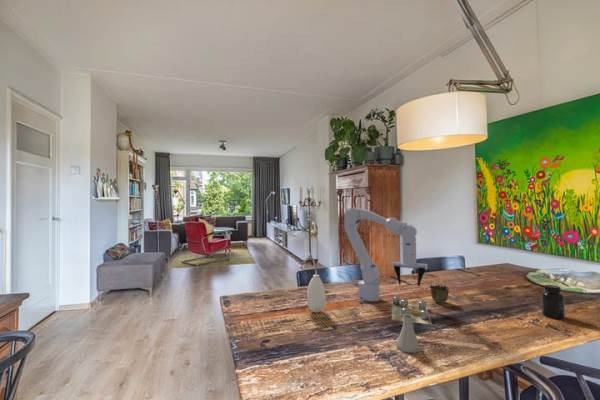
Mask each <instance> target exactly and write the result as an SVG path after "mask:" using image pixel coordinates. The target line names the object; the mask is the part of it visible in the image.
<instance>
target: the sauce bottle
mask: <svg viewBox="0 0 600 400" xmlns="http://www.w3.org/2000/svg"><path fill="white" fill-rule="evenodd" d="M317 272H318V271H317V269H315V274H313V275H312V278H311V280H310V281H309V283H308V286H307V291H306V301H307V305H308V309H310V310H311V312H313V313H316V314H318V313H320V312H321V311H322V310H323V309H324V308H325V305H326V297H327V296H326V289H325V286H324V282H323V281H322V278H320V275H319V274H317Z"/></svg>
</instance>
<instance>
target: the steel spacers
mask: <svg viewBox="0 0 600 400" xmlns="http://www.w3.org/2000/svg"><path fill="white" fill-rule="evenodd" d="M392 303H393V305H400V303H401V317H403V315H404V314H409V308H407V305H408V304H409V300H408V299H405V298H401V297H400V296H397V295H392ZM417 305H418V309H419V310H421V319H422V320H429V316H430V310H426V306H427V301H424V300H418V304H417Z"/></svg>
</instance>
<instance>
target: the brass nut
mask: <svg viewBox="0 0 600 400" xmlns="http://www.w3.org/2000/svg"><path fill="white" fill-rule="evenodd" d="M407 308H409V314H413V315H419V310H418V306H408V305H407Z"/></svg>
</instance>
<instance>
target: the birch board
mask: <svg viewBox="0 0 600 400" xmlns="http://www.w3.org/2000/svg"><path fill="white" fill-rule="evenodd" d="M408 306H418V304H411V303H408ZM418 310H419V309H418ZM426 310H428V307H427V305H426ZM428 311H429V310H428ZM410 315H412V316H413V317H414V319H413V323H419V324H424V325H433V322H432V319H431V316H430V315H429V320H422V319H421V310H419V315H413V314H410ZM391 321H400V322H404V318H403V317H401V302H400V305H393V302H391Z"/></svg>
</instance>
